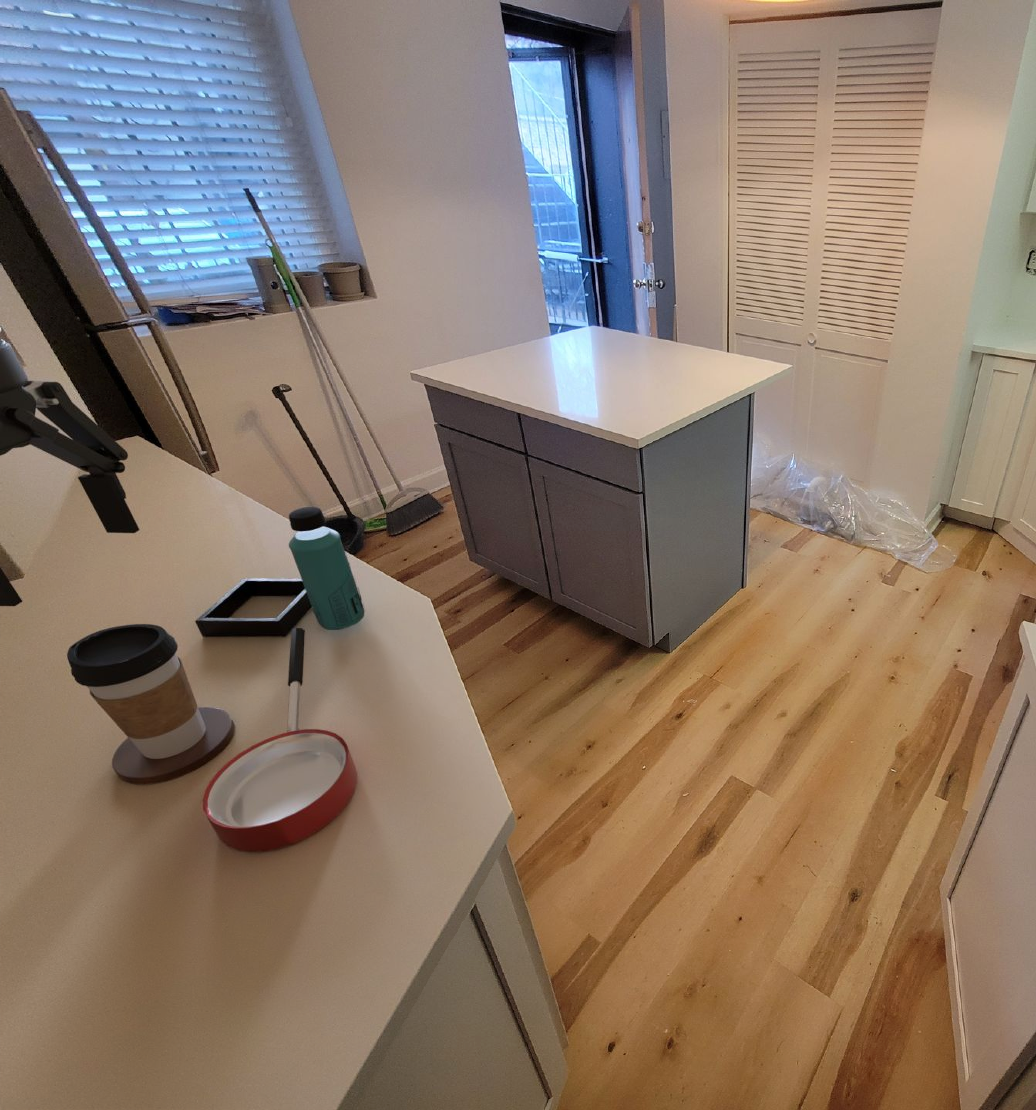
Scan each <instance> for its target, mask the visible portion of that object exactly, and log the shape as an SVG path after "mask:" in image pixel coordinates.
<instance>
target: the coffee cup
mask: <svg viewBox="0 0 1036 1110" xmlns="http://www.w3.org/2000/svg"><path fill="white" fill-rule="evenodd" d="M178 648H179V645H178V643H177V641H176V640H175V637H174V636H173V635H171V634H169V633H168V632H167V630H166V629H164V628H163V627H162V626H161V625H158V624H151V623H135V624H124V625H117V626H111V627H108V628H104V629H100V630H98V631H94V632H92V633H89V634H88V635H86V636H84V637H83V638H81V639H79V640H78V641H76V642H75V643H73V644H72V645H70V647H68V650H67V652H66V658H67V661H68V664H69V666H70V668H71V669H70V672H71V676H72V677H73V678H74V681H75V682H76V684H78V685H80V686H84V687H87V689H88V690H89V695H90V696H91V697H92V699H93V700H94V701H95V702H96V703H97V704H98V705H99V706H100V708H101V709H102V710H103V711H104V712H105V713H106V714H107V716H108V717H109V718H110V719H111V720H112V721H113V722H114V723H115V724H116V726H117V727H118V728H119V729H120V730H121V731H122V733H123V734H124V735H125V737H127V738H128V737H129V738H130V740H131V741H132V742H133V743H134V744H135V746H136V747H137V748H138V749H139V751H140V752H141V753H142V754H143V755H144V756H145V757H147V758H151V759H162V758H167V757H171V756H174V755H177V754H179V753H182V752H184V751H186V750H188V749H189V748H191V747H192V746H194V745H195V744H196V743H197V742H199V741H200V740H201V738H202V737H203V736H204V734H205V731H206V727H205V724H204V722H203V719H202V717H201V714H200V712H199V709H198V703H197V701H196V698H195V695H194V692H193V690H192V686H191V684H190V681H189V678H188V676H187V673H186V669H185V667H184V664H183V661H182V659H181V658H180V657H179V656H178V655H177V652H178Z"/></svg>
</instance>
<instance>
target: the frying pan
mask: <svg viewBox="0 0 1036 1110" xmlns="http://www.w3.org/2000/svg"><path fill="white" fill-rule="evenodd" d="M305 637H306V630H305V629H304V628H302V627H294V628H293V629H292V630H291V631H290V644H289V645H290V646H289V659H288V660H289V662H288V675H287V686H288V687H289V695H288V710H287V711H288V712H287V728H286V732H284V733H283V732H282V733H280V734H277V735H274V736H272V737H268V738H266V739H264V740H262V741H260V742H257V743H255V744H253V745H251V746H250V747H248V748H246V749H245V750H243V751H241V752H240V753H238V754H237V755H235V756H234V757H232V758H231V759H230V760H229V761H228V762H227V763H225V764H224V765H223V766H222V767H221V768H220V769H219V770H218V771H217V772H216V773H215V775H214V776H213V777H212V779H210V781H209V783H208V784H207V786H206V787H205V790H204V793H203V797H202V799H201V800H202V801H201V802H202V810H203V813H204V815H205V817H206V819H207V820H208V822H209V823H210V825H211V827H212V828H213V830H214V832H215V833H216V835H217V836H218V838H219V840H220V841H221V842H222V843H223V844H224V845H226V846H227V847H229V848H231V849H234V850H237V851H240V852H246V853H260V852H261V853H263V852H269V851H273V850H278V849H283V848H284V847H285V848H286V847H288V846H290V845H294V844H296V843H299V842H300V841H303V840H304V839H307V838H308V837H310V836H312V835H313V834H315V833H317V832H318V831H320V830H321V829H322V828H324V827H325V826H327V825H328V824H330V823H331V822H332V821H333V820H334V819H335V818H336V817H338V815H339V814H340V813H341V812H342V811H343V810H344V808H346V806H347V804H349V802H350V801H351V798H352V797H353V795H354V793H355V790H356V787H357V784H358V771H357V767H356V765H355V762H354V759H353V757H352V754H351V752H350V749H349V747H348V744H347V742H346V741H345V740H344V738H343V737H341V735H338V734H337V733H335V732H332V731H330V730H327V729H320V728H319V729H318V728H310V729H309V728H304V729H299V718H300V701H301V687H302V686H303V683H304V663H305V639H306V638H305Z"/></svg>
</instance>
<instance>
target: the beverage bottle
mask: <svg viewBox="0 0 1036 1110" xmlns="http://www.w3.org/2000/svg"><path fill="white" fill-rule="evenodd" d="M288 519H289V523H290V529H291V530H293V531H294V532H296V533H295V534H294V535H293V536H292V537H291V539H289V542H288V549H290V551H291V555H292V557H293V559H294V563H295V565H296V567H297V570H298V572H299V575H300V579H301V580H302V581H303V585H304V587H305V589H304V590H306V593H307V595H308V601H309V600H310V601H309V602H310V603H311V607H312V608H311V609H312V611H313V615H314V617H315V619H316V622H317V624H318V625H320V627H321V628H323V629H325V630H328V631H336V630H337V631H339V630H343V629H347V628H350V627H352V626H354V625H357V624H358V623H360V621H362V620H363V619H364V617H365V609H366V607H365V605H364V603H363V599H362V595H361V592H360V588H359V587H358V585H357V584H358V583H357V581H356V578H355V576H354V574H353V571H352V568H351V564H350V561H349V559H348V555H347V553H346V550H345V548H344V545H343V542H342V540H341V534H340V533H339V532H338V531H336V530H335V529H333V528H330V527H327V526H325V525H326V524H327V520H326V517H325V515H324V514H323V510H322V509H321V508H320V507H316V506H305V507H299V508H297V509H295V510H292V511H291V512H290V513H289V514H288ZM302 581H301V582H302Z"/></svg>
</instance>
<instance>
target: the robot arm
mask: <svg viewBox="0 0 1036 1110" xmlns="http://www.w3.org/2000/svg"><path fill="white" fill-rule="evenodd" d="M1 332H2V327H1V326H0V333H1ZM36 410H37V411H38V412H40V414H41V415H43V416H44V417H45V418H47V420H49V421H50V422H51V423H52V424H53V425H52V424H50V423H48V422H47V421H44V420H43V419H40V418H39V417H37V416H36ZM54 425H55V426H56V427H55V426H54ZM60 430H61V431H62V432H63V433H64V434H63V433H61V432H59V431H60ZM65 434H66V435H65ZM27 446H32V447H35V448H37V449H38V450H41V451H43V452H45V453H46V454H49V455H50V456H52V457H55V458H57V459H59V460H61V461H63V462H65V463H67V464H69V465H71V466H73V467H75V468H77V469H79V470H81V471H83V472H85V473H83V474H81V475H79V476H78V477H77V479H78V481H79V483H80V485H81V487H82V488H83V490H84V492H85V494H86V496H87V498H88V500H89V502H90V503H91V505H92V507H93V509H94V511H95V513H96V515H97V517H98V518H99V520H100V523H101V524H102V526H103V528H104V530H105V532H106V533H107V534H135V533H137V532H139V531H140V528H139V526H138V524H137V522H136V519H135V518H134V515H133V513H132V511H131V509H130V508H129V505H128V504H127V502H126V499H127V494H126V491H125V489H124V487H123V485H122V483H121V481H120V479H119V477H118V475H117V474H123V473H124V472H125V471H126V465H125V463H123V462H122V461H127V459H128V457H129V453H128V452H127V450H126V449H125V448H124V447H123V446H121V445H120V444H119V443H118V442H117V441H116V440H114V438H113V437H111V435H109V434H108V433H107V432H106V431H105V430H103V428H102V427H100V426H99V425H98V424H97V423H96V422H95V421H94V420H93V419H91V418H90V417H89V416H88V415H87V414H86V413H85V412H84V411H83V410H81V409H80V408H79V407H78V406H77V405H76V404H75V403H74V402H73V401H72V399H71V398H70V396H69V395H68V393H67V391H66V390H65V388H64V386H63V385H62V384H61V383H60V382H59V381H52V380H51V381H50V380H49V381H48V380H47V381H46V380H29V379H28V375H27V374H26V372H25V370H24V368H23V366H22V364H21V362H20V360H19V358H18V355H16V353H15V351H14V348H13V347H12V345H11V344H10V342H7V341H5V340H4V339H1V338H0V457H1V456H4V455H6V454H7V453H9V452H10V451H12V450H14V449H18V448H25V447H27ZM86 473H88V474H86ZM21 603H23V600H22V598H21V596H20V595H19V593H18V592H17V590H16V589H15V587H14V585H13V584H12V582H11V581H10V580H9V578H8V577H7V575H6V573H5V572H4V570H3V569H2V567H0V607H16V606H18V605H19V604H21Z"/></svg>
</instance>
